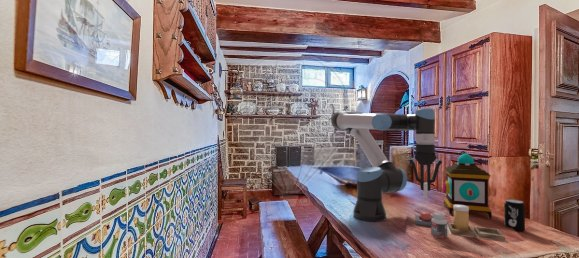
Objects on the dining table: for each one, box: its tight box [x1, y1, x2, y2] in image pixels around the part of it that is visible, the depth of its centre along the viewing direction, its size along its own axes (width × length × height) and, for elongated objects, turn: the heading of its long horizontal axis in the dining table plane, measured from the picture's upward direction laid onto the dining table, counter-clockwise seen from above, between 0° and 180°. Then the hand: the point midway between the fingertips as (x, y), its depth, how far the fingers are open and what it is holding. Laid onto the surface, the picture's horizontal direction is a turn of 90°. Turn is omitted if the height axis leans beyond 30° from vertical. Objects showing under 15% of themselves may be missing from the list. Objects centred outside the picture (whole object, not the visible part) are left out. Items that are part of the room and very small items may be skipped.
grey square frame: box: [414, 214, 434, 228], centre depth 116 cm, size 8×8×3 cm
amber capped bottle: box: [453, 205, 470, 231], centre depth 106 cm, size 5×5×10 cm
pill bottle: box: [430, 211, 448, 240], centre depth 101 cm, size 5×5×10 cm
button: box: [419, 211, 432, 221], centre depth 116 cm, size 4×4×4 cm
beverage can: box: [503, 198, 526, 233], centre depth 112 cm, size 7×7×12 cm
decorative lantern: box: [443, 153, 493, 220], centre depth 136 cm, size 20×20×30 cm
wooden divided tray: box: [447, 222, 508, 243], centre depth 104 cm, size 18×10×3 cm, turn 66°
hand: (425, 197), depth 116 cm, fingers closed
